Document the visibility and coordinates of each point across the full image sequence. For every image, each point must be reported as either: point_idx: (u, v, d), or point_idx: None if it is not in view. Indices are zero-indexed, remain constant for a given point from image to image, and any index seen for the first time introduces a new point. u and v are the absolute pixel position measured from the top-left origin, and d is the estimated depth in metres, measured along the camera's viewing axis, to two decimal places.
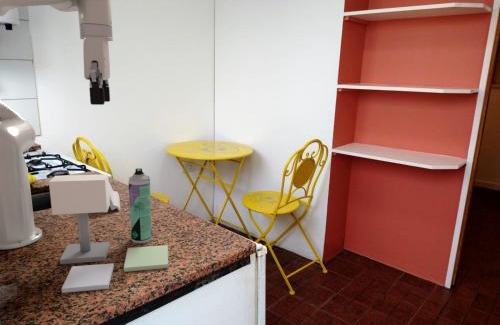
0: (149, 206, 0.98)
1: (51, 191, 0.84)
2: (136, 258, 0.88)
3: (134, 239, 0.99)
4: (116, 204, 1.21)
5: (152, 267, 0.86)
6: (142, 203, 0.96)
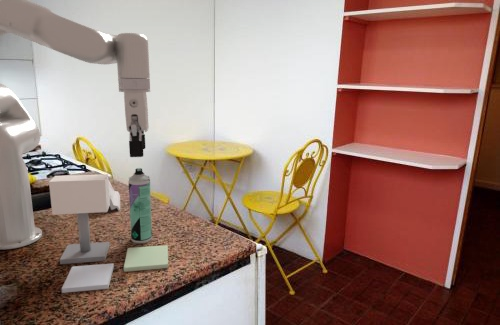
0: (149, 206, 0.98)
1: (51, 191, 0.84)
2: (136, 258, 0.88)
3: (134, 239, 0.99)
4: (116, 204, 1.21)
5: (152, 267, 0.86)
6: (142, 203, 0.96)
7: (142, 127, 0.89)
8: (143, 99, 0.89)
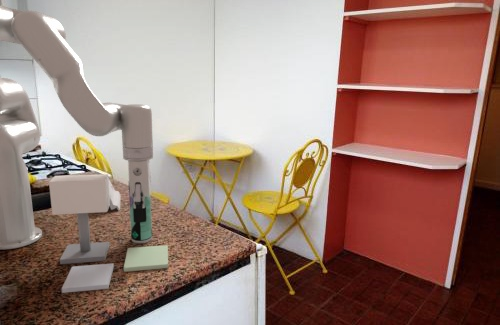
0: (149, 206, 0.98)
1: (51, 191, 0.84)
2: (136, 258, 0.88)
3: (134, 239, 0.99)
4: (116, 204, 1.22)
5: (152, 267, 0.86)
6: None
7: (145, 194, 0.93)
8: (146, 167, 0.93)
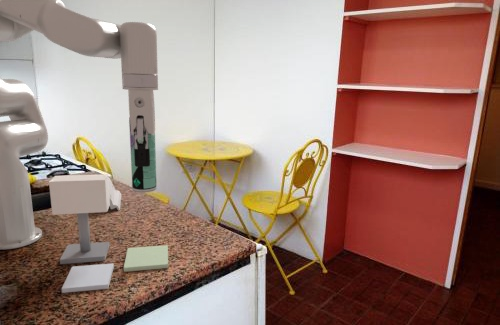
0: (153, 148, 0.83)
1: (51, 191, 0.84)
2: (136, 258, 0.88)
3: (136, 188, 0.83)
4: (116, 203, 1.22)
5: (152, 267, 0.86)
6: None
7: (148, 130, 0.78)
8: (150, 98, 0.78)
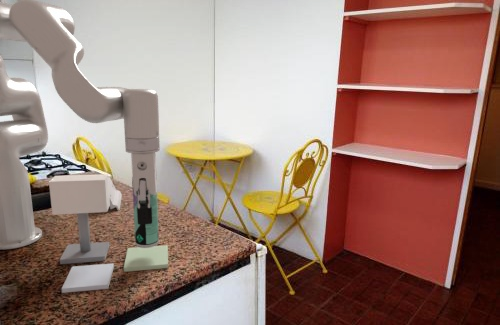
0: (155, 205, 0.86)
1: (51, 191, 0.84)
2: (136, 258, 0.88)
3: (139, 243, 0.87)
4: (115, 203, 1.22)
5: (152, 267, 0.86)
6: None
7: (151, 191, 0.81)
8: (152, 161, 0.81)
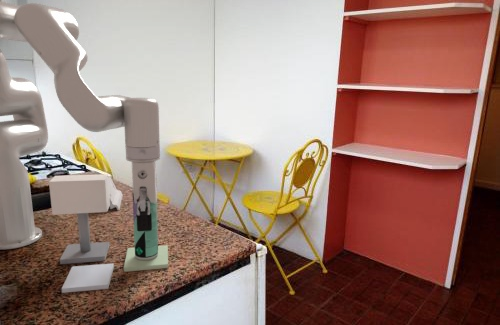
0: (155, 218, 0.87)
1: (51, 191, 0.84)
2: None
3: (138, 256, 0.87)
4: (115, 203, 1.22)
5: (152, 267, 0.86)
6: None
7: (151, 199, 0.82)
8: (152, 170, 0.81)
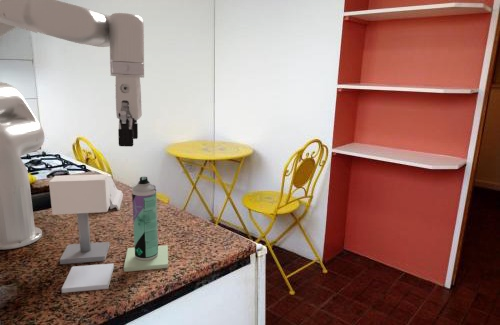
0: (155, 219, 0.87)
1: (51, 191, 0.84)
2: None
3: (138, 256, 0.87)
4: (115, 203, 1.22)
5: (152, 267, 0.86)
6: (148, 217, 0.85)
7: (133, 115, 0.84)
8: (135, 85, 0.83)
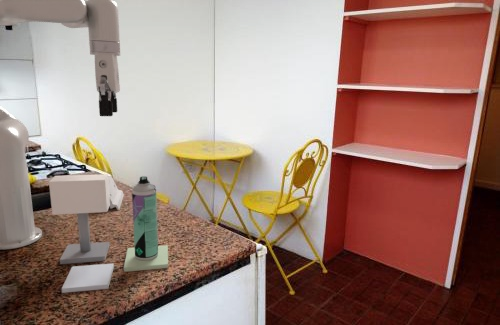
0: (155, 219, 0.87)
1: (51, 191, 0.84)
2: None
3: (138, 256, 0.87)
4: (115, 203, 1.22)
5: (152, 267, 0.86)
6: (148, 216, 0.85)
7: (111, 87, 0.95)
8: (112, 61, 0.94)
